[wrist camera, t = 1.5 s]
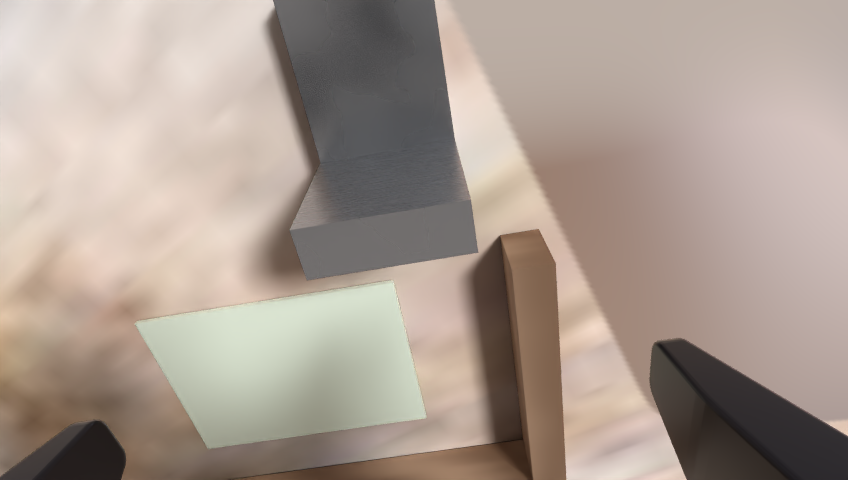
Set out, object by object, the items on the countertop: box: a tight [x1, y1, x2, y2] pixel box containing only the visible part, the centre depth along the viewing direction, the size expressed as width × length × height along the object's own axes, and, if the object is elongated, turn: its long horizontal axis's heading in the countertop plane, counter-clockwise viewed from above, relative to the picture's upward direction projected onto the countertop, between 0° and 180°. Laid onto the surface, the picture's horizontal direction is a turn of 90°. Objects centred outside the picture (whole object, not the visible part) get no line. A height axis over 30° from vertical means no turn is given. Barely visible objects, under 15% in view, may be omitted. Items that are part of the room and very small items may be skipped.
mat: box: [135, 280, 427, 449], centre depth 22 cm, size 11×8×1 cm
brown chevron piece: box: [233, 229, 566, 480], centre depth 22 cm, size 20×14×2 cm
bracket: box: [273, 0, 478, 280], centre depth 14 cm, size 6×4×6 cm
